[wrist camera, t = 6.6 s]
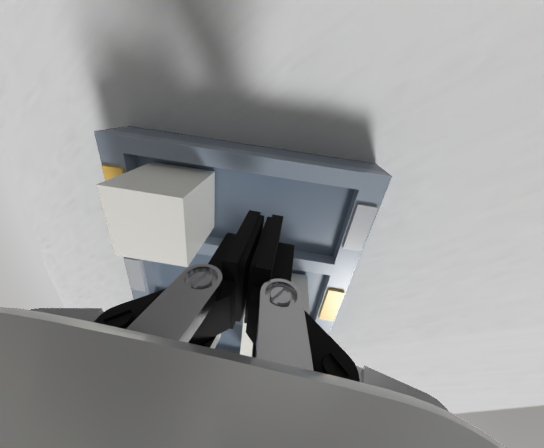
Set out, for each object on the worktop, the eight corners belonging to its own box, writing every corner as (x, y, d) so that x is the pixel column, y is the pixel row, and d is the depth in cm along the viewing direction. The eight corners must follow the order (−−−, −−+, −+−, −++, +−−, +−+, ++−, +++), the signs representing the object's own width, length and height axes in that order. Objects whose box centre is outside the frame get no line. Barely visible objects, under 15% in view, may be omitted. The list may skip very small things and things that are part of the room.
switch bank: (376, 164, 15) (394, 178, 12) (310, 351, 25) (312, 382, 22) (128, 126, 15) (91, 131, 13) (161, 325, 26) (144, 353, 23)
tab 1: (214, 171, 14) (182, 198, 10) (214, 226, 16) (187, 267, 12) (152, 161, 14) (96, 184, 10) (159, 217, 16) (115, 255, 12)
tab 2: (307, 275, 17) (310, 326, 13) (297, 310, 19) (297, 364, 15) (255, 266, 17) (243, 315, 13) (251, 303, 19) (239, 354, 15)
